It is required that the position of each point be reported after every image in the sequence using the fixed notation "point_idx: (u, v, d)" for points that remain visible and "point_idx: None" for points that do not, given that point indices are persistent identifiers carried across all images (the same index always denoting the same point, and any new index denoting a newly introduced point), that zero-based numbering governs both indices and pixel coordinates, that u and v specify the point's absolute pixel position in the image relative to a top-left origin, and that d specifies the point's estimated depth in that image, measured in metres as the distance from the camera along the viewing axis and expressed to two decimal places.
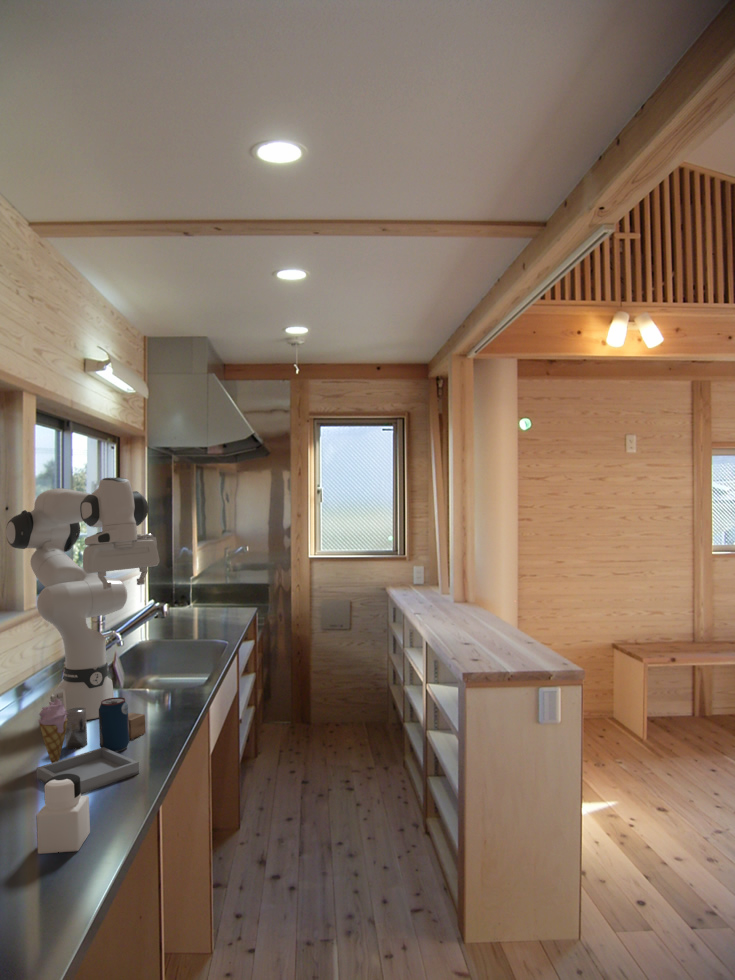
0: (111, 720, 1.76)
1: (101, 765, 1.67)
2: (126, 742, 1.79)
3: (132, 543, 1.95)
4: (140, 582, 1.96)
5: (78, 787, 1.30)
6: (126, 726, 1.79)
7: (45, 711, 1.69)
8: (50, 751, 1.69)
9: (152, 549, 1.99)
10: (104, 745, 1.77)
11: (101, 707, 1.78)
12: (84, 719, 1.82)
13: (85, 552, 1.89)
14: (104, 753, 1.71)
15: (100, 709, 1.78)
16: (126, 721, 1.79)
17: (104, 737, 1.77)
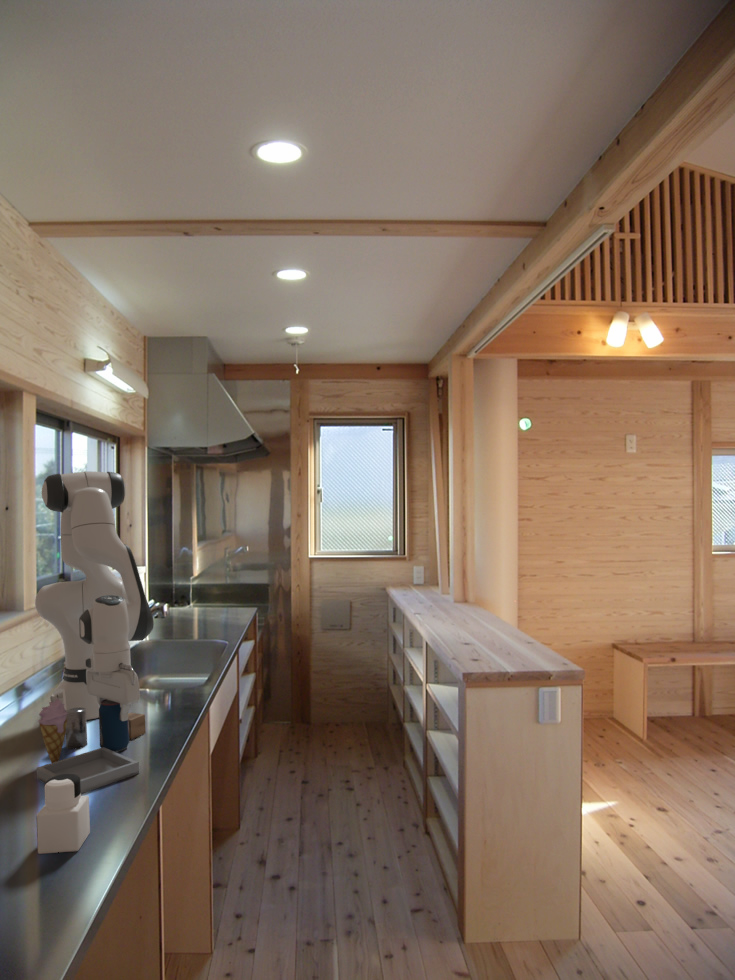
0: (111, 720, 1.76)
1: (101, 765, 1.67)
2: (126, 742, 1.79)
3: (108, 674, 1.76)
4: (119, 718, 1.76)
5: (78, 787, 1.30)
6: (126, 726, 1.79)
7: (45, 711, 1.69)
8: (50, 751, 1.69)
9: (122, 685, 1.73)
10: (104, 745, 1.77)
11: (101, 707, 1.78)
12: (84, 719, 1.82)
13: None
14: (104, 753, 1.71)
15: (100, 709, 1.78)
16: (126, 721, 1.79)
17: (105, 737, 1.77)
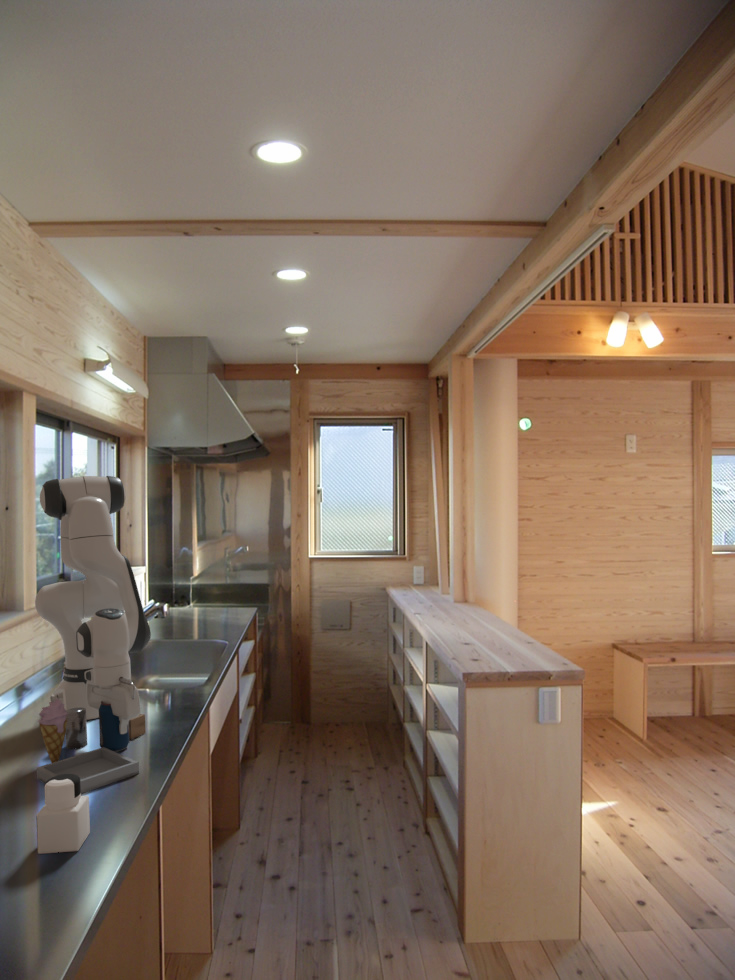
0: (111, 720, 1.76)
1: (101, 765, 1.67)
2: (126, 742, 1.79)
3: (109, 687, 1.77)
4: (118, 731, 1.77)
5: (78, 787, 1.30)
6: None
7: (45, 711, 1.69)
8: (50, 751, 1.69)
9: (122, 699, 1.73)
10: (104, 745, 1.77)
11: (101, 707, 1.78)
12: (84, 719, 1.82)
13: None
14: (104, 753, 1.71)
15: (100, 709, 1.78)
16: None
17: (105, 737, 1.77)
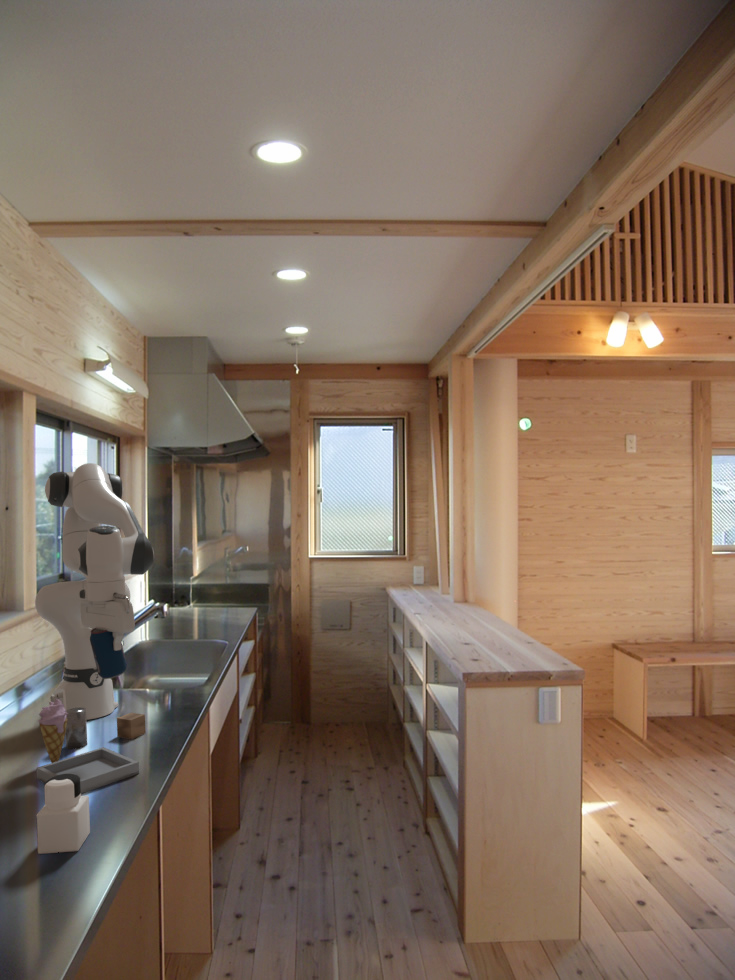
0: (104, 647, 1.73)
1: (101, 765, 1.67)
2: (124, 666, 1.77)
3: (103, 603, 1.74)
4: (112, 647, 1.74)
5: (78, 787, 1.30)
6: (121, 651, 1.76)
7: (45, 711, 1.69)
8: (50, 751, 1.69)
9: (117, 613, 1.71)
10: (102, 673, 1.74)
11: (91, 636, 1.74)
12: (84, 719, 1.82)
13: None
14: (104, 753, 1.71)
15: (91, 638, 1.74)
16: None
17: (101, 665, 1.74)
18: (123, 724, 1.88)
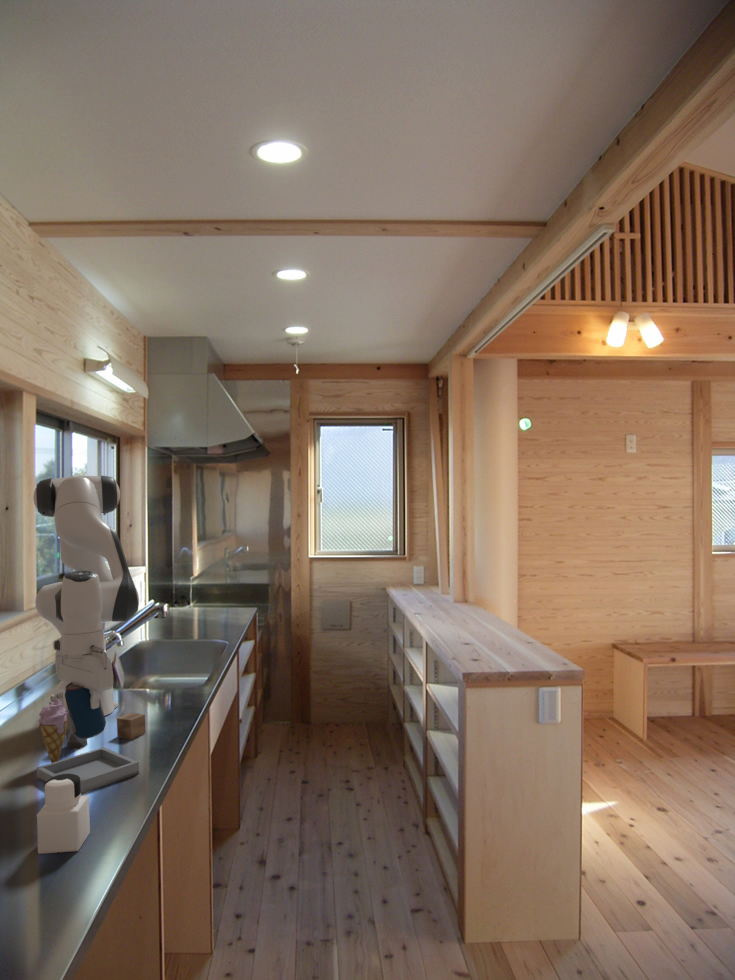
0: (80, 705, 1.58)
1: (101, 765, 1.67)
2: (102, 725, 1.61)
3: (79, 657, 1.59)
4: (89, 705, 1.59)
5: (78, 787, 1.30)
6: (99, 708, 1.61)
7: (45, 711, 1.69)
8: (50, 751, 1.69)
9: (93, 669, 1.55)
10: (78, 732, 1.59)
11: (66, 693, 1.59)
12: None
13: None
14: (104, 753, 1.71)
15: (66, 695, 1.59)
16: None
17: (76, 724, 1.59)
18: (123, 724, 1.88)
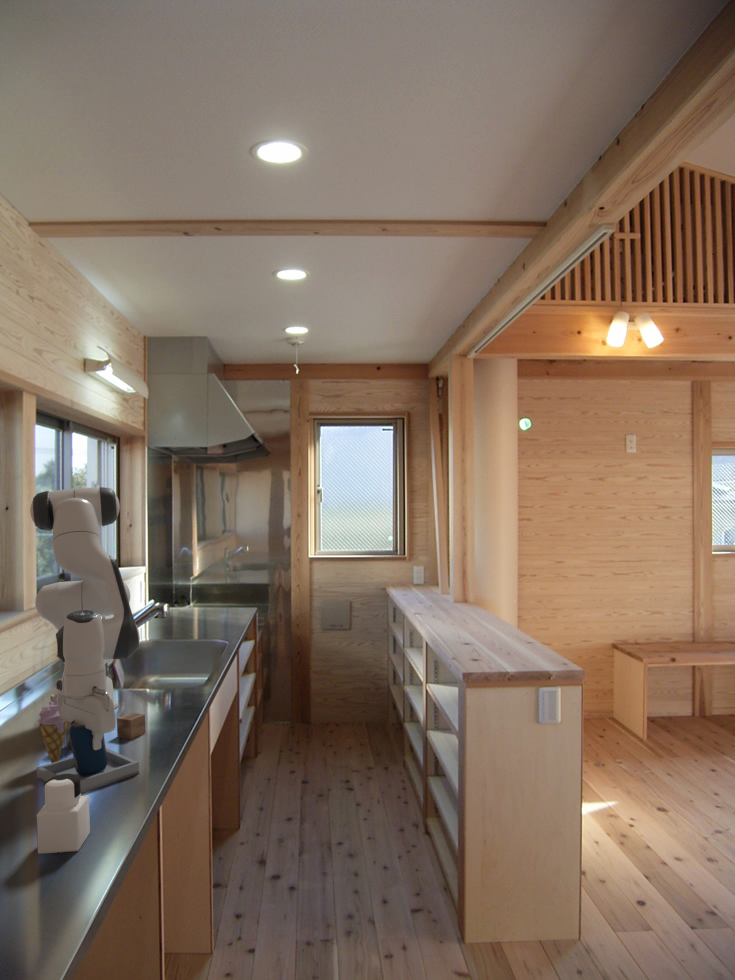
0: (84, 742, 1.58)
1: None
2: (104, 763, 1.61)
3: (81, 698, 1.59)
4: (91, 746, 1.59)
5: (78, 787, 1.30)
6: (102, 746, 1.61)
7: (45, 711, 1.69)
8: (50, 751, 1.69)
9: (96, 712, 1.55)
10: (80, 770, 1.59)
11: (71, 729, 1.59)
12: None
13: None
14: None
15: (70, 731, 1.59)
16: (101, 741, 1.61)
17: (79, 761, 1.59)
18: (123, 724, 1.88)
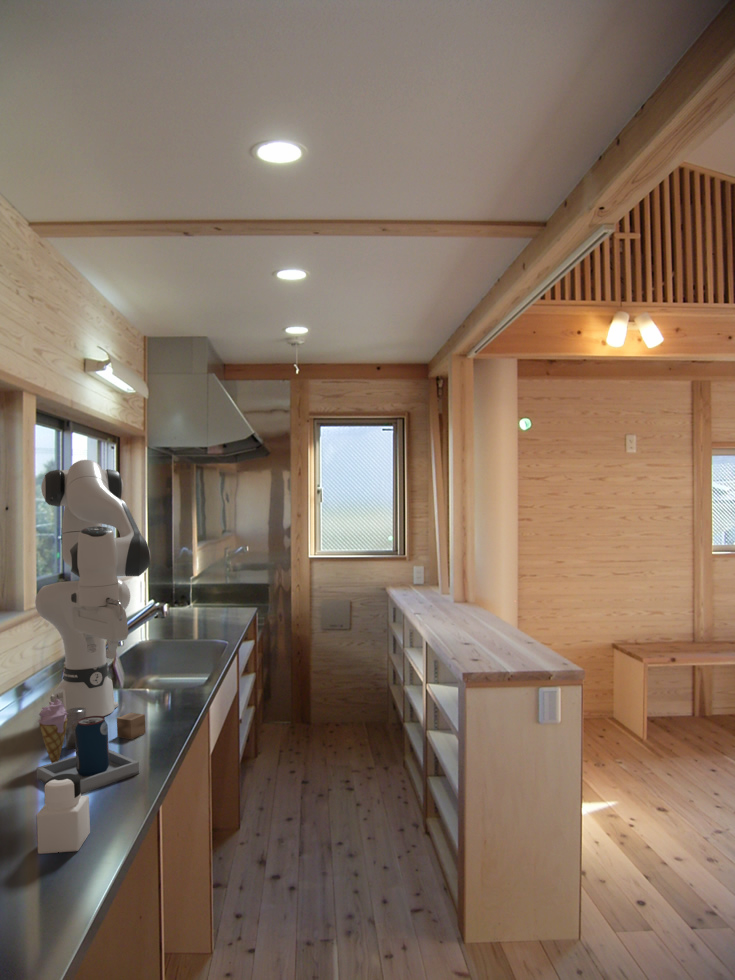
0: (89, 741, 1.59)
1: None
2: (105, 766, 1.62)
3: (95, 609, 1.65)
4: (106, 655, 1.65)
5: (78, 787, 1.30)
6: (105, 748, 1.62)
7: (45, 711, 1.69)
8: (50, 751, 1.69)
9: (109, 620, 1.62)
10: (81, 770, 1.59)
11: (78, 727, 1.61)
12: None
13: None
14: None
15: (76, 729, 1.60)
16: (105, 742, 1.62)
17: (81, 760, 1.59)
18: (123, 724, 1.88)
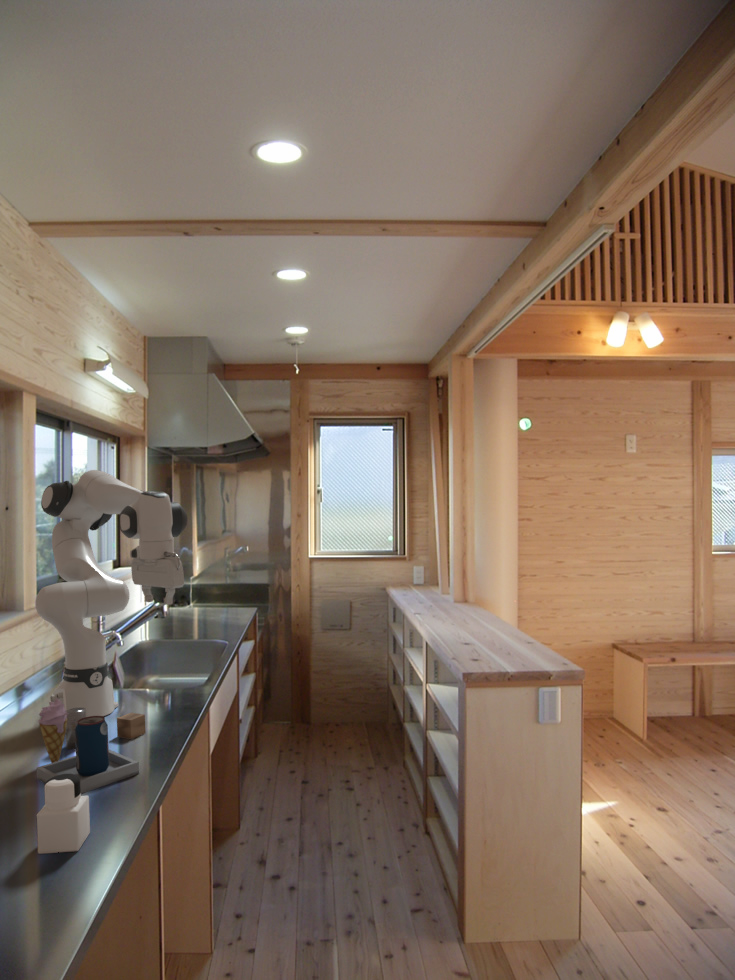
0: (89, 741, 1.59)
1: None
2: (105, 766, 1.62)
3: (154, 561, 1.89)
4: (164, 602, 1.89)
5: (78, 787, 1.30)
6: (105, 748, 1.62)
7: (45, 711, 1.69)
8: (50, 751, 1.69)
9: (168, 570, 1.86)
10: (81, 770, 1.59)
11: (78, 727, 1.61)
12: None
13: None
14: None
15: (76, 729, 1.60)
16: (105, 742, 1.62)
17: (81, 760, 1.59)
18: (123, 724, 1.88)
